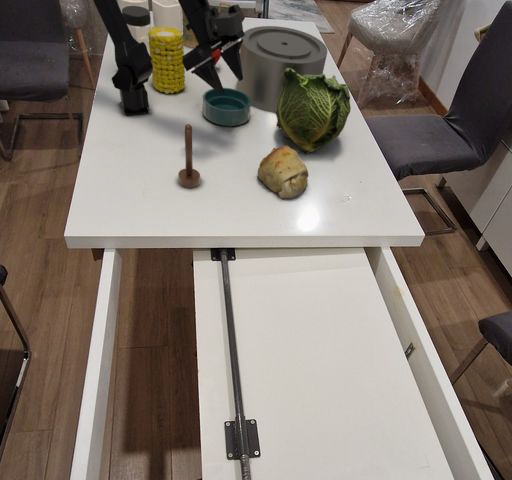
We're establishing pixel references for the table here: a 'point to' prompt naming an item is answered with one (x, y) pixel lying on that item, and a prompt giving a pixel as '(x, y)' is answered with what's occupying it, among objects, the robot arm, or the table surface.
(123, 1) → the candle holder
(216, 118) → the bowl
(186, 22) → the mug
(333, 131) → the vegetable
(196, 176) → the rounded top peg stand
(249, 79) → the container
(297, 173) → the pastry
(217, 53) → the strawberry
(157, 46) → the food
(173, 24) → the cup
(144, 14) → the jar
